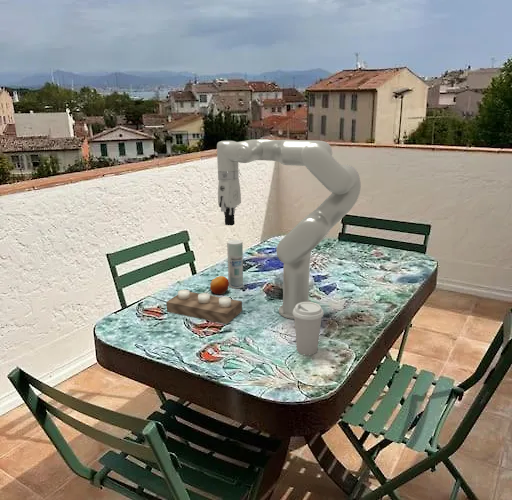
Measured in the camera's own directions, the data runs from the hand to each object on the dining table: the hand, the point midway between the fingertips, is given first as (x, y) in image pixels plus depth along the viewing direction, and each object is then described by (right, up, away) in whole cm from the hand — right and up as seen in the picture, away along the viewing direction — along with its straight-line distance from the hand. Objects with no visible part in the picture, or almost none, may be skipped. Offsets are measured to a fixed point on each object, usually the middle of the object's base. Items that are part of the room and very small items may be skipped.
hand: (229, 224), depth 171 cm
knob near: (-2, -33, -2) cm, 33 cm away
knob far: (-18, -30, +6) cm, 36 cm away
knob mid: (-10, -31, +2) cm, 33 cm away
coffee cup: (+26, -42, -26) cm, 56 cm away
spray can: (+1, -25, +27) cm, 37 cm away
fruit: (-5, -28, +21) cm, 35 cm away
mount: (-10, -33, +2) cm, 34 cm away
